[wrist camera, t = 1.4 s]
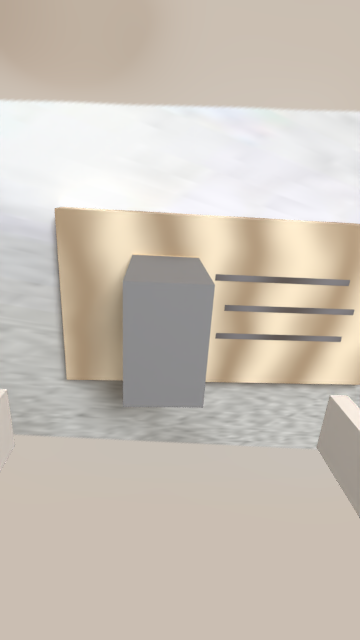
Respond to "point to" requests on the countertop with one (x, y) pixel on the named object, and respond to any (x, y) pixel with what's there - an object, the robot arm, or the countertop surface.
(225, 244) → the board
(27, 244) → the countertop surface
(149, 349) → the block
